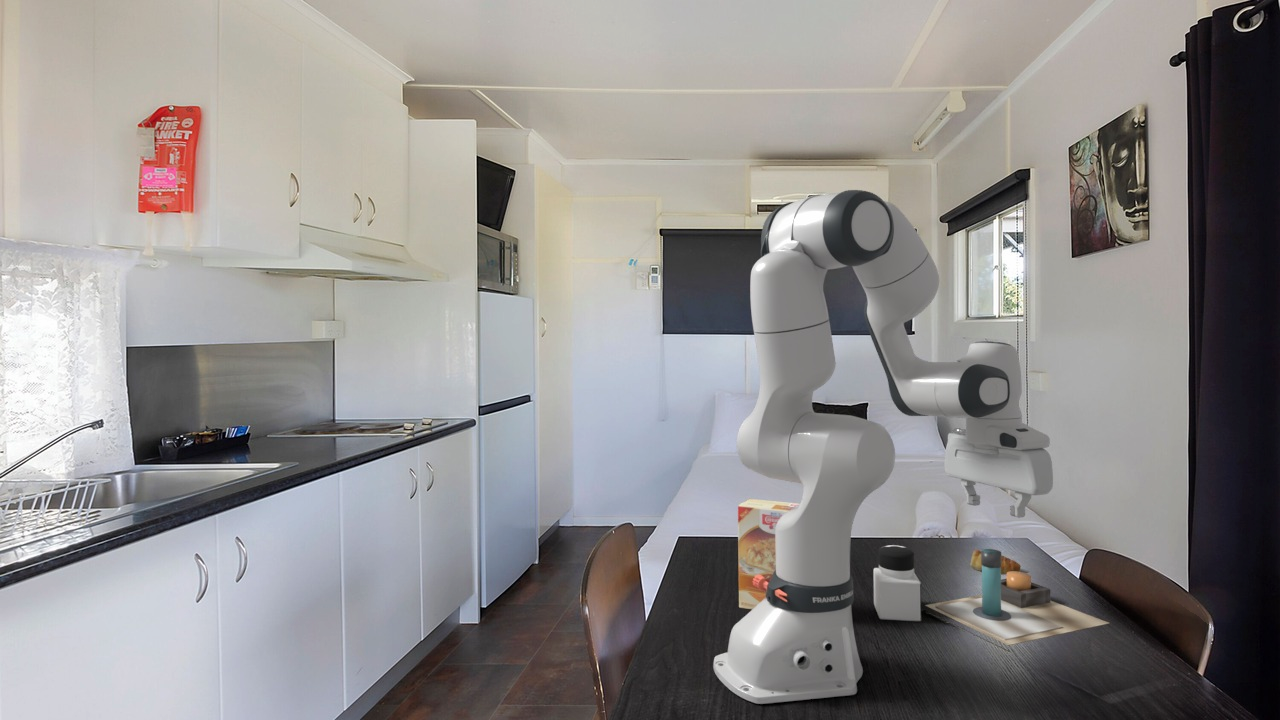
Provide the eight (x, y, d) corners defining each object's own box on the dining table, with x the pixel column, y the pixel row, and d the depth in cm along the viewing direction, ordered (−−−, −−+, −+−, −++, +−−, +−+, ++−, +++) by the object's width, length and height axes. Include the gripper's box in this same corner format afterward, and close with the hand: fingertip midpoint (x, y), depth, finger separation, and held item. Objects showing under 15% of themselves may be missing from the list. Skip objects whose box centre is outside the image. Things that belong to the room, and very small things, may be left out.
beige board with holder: (1008, 651, 106) (1007, 629, 106) (924, 610, 123) (924, 591, 123) (1109, 628, 114) (1109, 608, 114) (1018, 593, 131) (1018, 575, 131)
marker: (992, 617, 116) (991, 555, 116) (977, 611, 119) (976, 550, 119) (1006, 615, 117) (1005, 552, 117) (991, 608, 120) (990, 547, 120)
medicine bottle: (921, 622, 118) (920, 554, 118) (879, 619, 120) (878, 553, 120) (913, 607, 125) (912, 543, 125) (873, 604, 127) (872, 541, 127)
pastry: (1022, 570, 145) (1022, 553, 145) (1017, 579, 140) (1017, 561, 140) (975, 562, 151) (974, 545, 151) (968, 571, 145) (968, 553, 145)
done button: (1020, 595, 123) (1019, 579, 123) (1001, 588, 127) (1001, 572, 127) (1036, 592, 125) (1036, 576, 125) (1017, 585, 128) (1017, 570, 128)
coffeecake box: (738, 608, 126) (736, 505, 126) (750, 595, 133) (748, 497, 132) (817, 621, 119) (816, 513, 119) (826, 607, 126) (825, 504, 125)
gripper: (935, 427, 127) (936, 500, 128) (1030, 441, 108) (1031, 526, 108) (961, 425, 129) (962, 496, 130) (1059, 438, 110) (1060, 522, 110)
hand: (994, 510), depth 119 cm, fingers open, 8 cm apart
